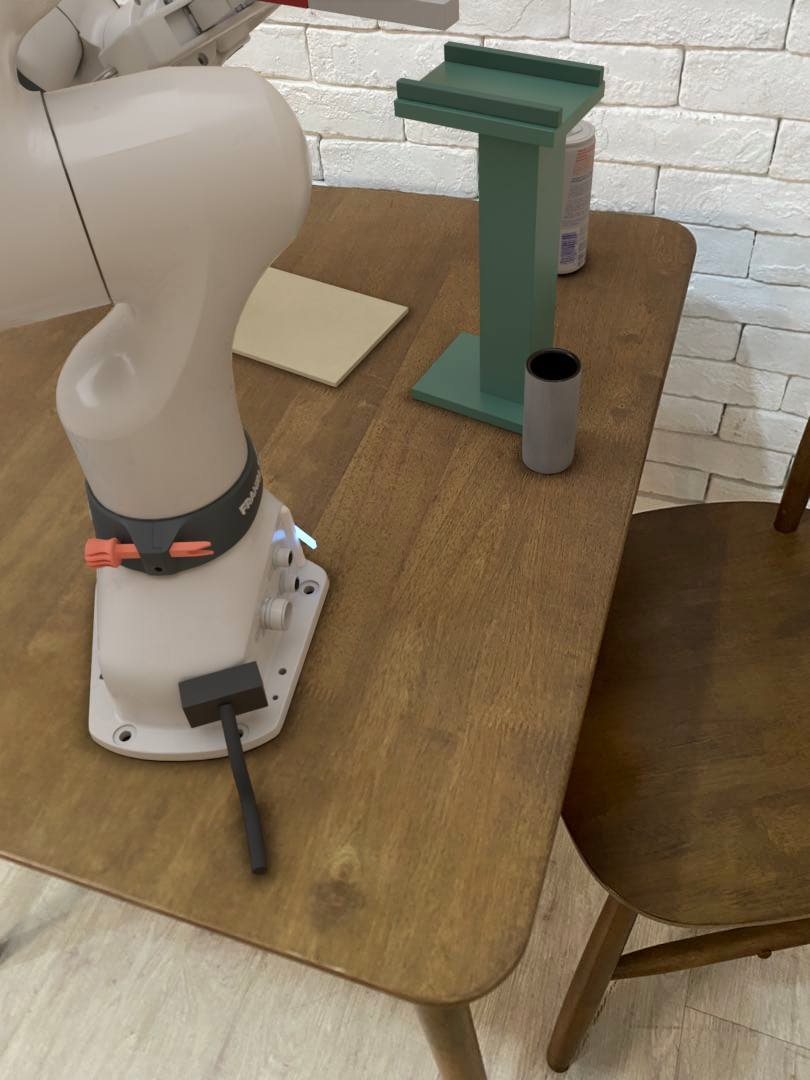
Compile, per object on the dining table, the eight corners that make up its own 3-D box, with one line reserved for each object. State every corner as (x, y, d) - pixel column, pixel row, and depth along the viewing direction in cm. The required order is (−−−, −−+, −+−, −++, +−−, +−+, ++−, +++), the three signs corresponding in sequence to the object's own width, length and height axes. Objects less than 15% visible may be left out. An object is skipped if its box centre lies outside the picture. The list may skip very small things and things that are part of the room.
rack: (580, 376, 90) (610, 60, 69) (535, 439, 85) (552, 117, 63) (461, 341, 95) (454, 35, 74) (412, 398, 90) (388, 86, 68)
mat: (408, 312, 99) (408, 307, 99) (336, 387, 92) (335, 383, 91) (231, 259, 109) (230, 255, 108) (151, 324, 101) (150, 320, 100)
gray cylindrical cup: (513, 466, 83) (516, 373, 75) (533, 434, 85) (538, 341, 78) (561, 480, 81) (569, 387, 74) (580, 448, 84) (590, 354, 76)
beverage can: (584, 249, 105) (595, 115, 94) (585, 277, 102) (597, 141, 90) (534, 249, 106) (539, 116, 95) (533, 277, 102) (539, 142, 91)
